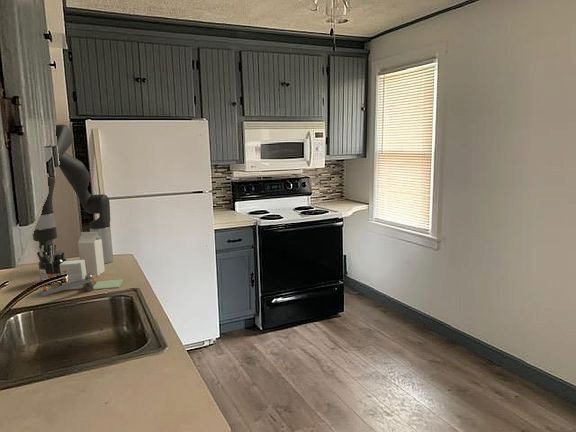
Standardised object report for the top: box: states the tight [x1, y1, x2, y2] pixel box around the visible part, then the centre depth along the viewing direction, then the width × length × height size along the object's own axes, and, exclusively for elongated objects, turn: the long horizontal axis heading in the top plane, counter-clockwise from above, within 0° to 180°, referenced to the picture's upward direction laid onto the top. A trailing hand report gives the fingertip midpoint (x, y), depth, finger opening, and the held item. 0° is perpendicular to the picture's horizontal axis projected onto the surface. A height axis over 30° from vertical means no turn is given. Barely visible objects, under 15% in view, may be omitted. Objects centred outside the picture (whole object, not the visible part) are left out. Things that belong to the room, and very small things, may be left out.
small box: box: [60, 259, 87, 291], centre depth 171 cm, size 8×6×10 cm
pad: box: [93, 278, 123, 291], centre depth 173 cm, size 10×10×1 cm
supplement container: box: [37, 250, 68, 282], centre depth 180 cm, size 10×10×12 cm
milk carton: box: [77, 231, 105, 277], centre depth 188 cm, size 7×7×19 cm
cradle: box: [50, 275, 98, 294], centre depth 171 cm, size 15×15×3 cm
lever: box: [39, 275, 93, 297], centre depth 159 cm, size 3×19×3 cm, turn 146°
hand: (49, 273), depth 156 cm, fingers closed
